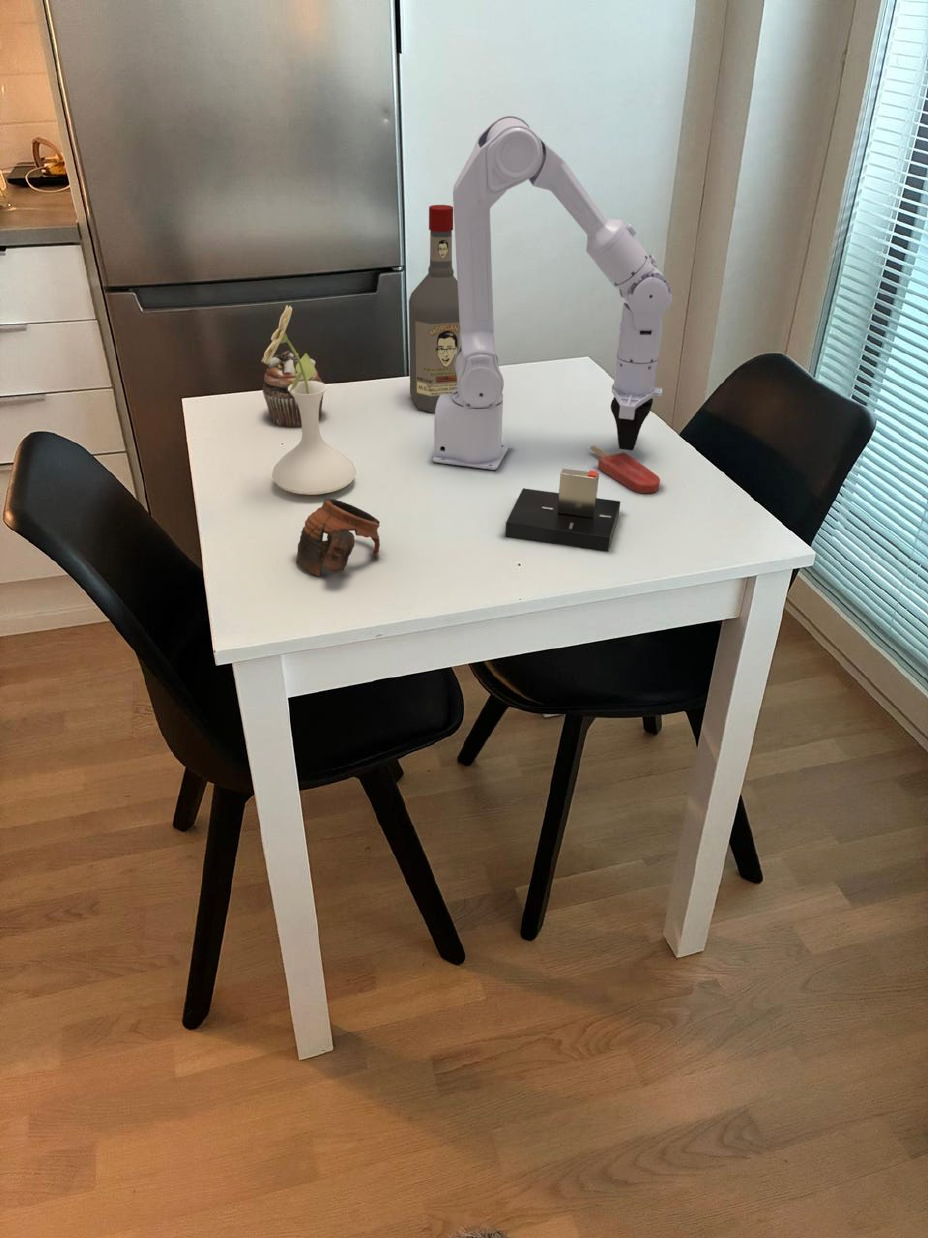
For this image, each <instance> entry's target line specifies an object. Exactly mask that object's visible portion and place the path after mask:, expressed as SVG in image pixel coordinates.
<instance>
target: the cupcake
mask: <svg viewBox="0 0 928 1238" xmlns="http://www.w3.org/2000/svg"><path fill="white" fill-rule="evenodd" d="M297 355H298V357H299V359H301V358H302V357H303V356H304V355H305V353H303V354H300V355H299V353H297ZM307 355H308V357H309V358H310V360H311V362H312V363H313V365H314V367H315V366H316V360H314V358H311V356H310V355H309V354H307ZM297 363H298V361H297V359H296V357H295V355H294V353H293V352H292V350H291V349H290V350H288V351H284V352H282V353H281V354H274V355H273V357H272V358H271V360H270V361H269V363H268V364H267V366H268V367H267V368H266V371H265V373H264V375H263V380H264V383H263V384H262V389H261V390H262V394H263V397H264V400H265V403H266V406H267V409H268V413H269V417H270V420H271V422H272V423H274V424H275V425H278V426H281V427H285V428H286V427H287V428H302V421H301V415H300V410H299V407H298V404H297V402H296V400H295V398H294V397H293V395H292V394H291V393H290V392H289V391H288V387H289V386H290V385H291V384H293V381H294V379H295V377H296V376H297V375H298V373H297V371H296V365H297ZM301 381H304V379H302V378H300V380H299V382H301ZM307 381H317V382H321V383H323V380H322V378H321V377H320V376H319V372H318V370H317V369H316V373H315V375H314V376H313V377H311V378H310V379H309V380H307ZM323 400H324V395H323V396H322V398H321V401H320V406H319V421H320V420H321V418H322V409H323Z"/></svg>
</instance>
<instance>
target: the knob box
mask: <svg viewBox="0 0 928 1238" xmlns="http://www.w3.org/2000/svg"><path fill="white" fill-rule="evenodd" d="M558 497H559V492H553V491H545V490H539V489H531V488H524V487H523V488H522V489H521V491H520V494H519V496H518V497H517V499H516V501H515V503H514V505H513V507H512V509H511V511H510V514H509V515H508V518H507V520H506V521H505V531H504V533H505V535H504V536H505V537H508V538H515V539H521V540H528V541H529V540H530V541H534V542H535V541H536V542H543V543H550V544H557V545H563V546H568V547H569V546H570V547H577V548H583V549H591V550H598V551H605V552H609V550H610V547H611V543H612V539H613V535H614V533H615V530H616V526H617V524H618V523H617V522H618V519H619V515H620V507H621V501H620V500H613V499H605V498H599V497H597V498H596V508H595V514H594V517H593V518H591V517H584V516H576V515H569V514H562V513H557V510H558Z"/></svg>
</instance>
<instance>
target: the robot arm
mask: <svg viewBox="0 0 928 1238" xmlns="http://www.w3.org/2000/svg"><path fill="white" fill-rule="evenodd" d="M527 181H529V182H530V184H531V186H532V187H535V188H539V189H543V190H547V191H550V192H551V193H552V194H553V195H554V197H555V198H556V199H557V200H558V201H559V203H560V204H561V205H562V206H563V208H564V209H565V210H566V211H567V212H568V213H569V215H570V216H571V217H572V218H573V220H574V221H575V222H576V223H577V225H579V227H580V228H581V229H582V230H583V232H584V233H585V234H586V236H587V237H586V249H585V250H586V253H587V254H588V255H589V257H590V258H591V259H592V261H593V262H594V264H596V265H597V267H598V268H599V270H600V271H601V272H602V273H603V275H605V277H606V278H607V280H608V281H609V282H610V283H611V284H612V286H613V288H615V289H618V292H619V295H620V297H621V298H623V300H624V301H625V302H623V304H622V312H621V313H622V314H621V321H620V324H619V333H618V342H617V343H618V344H617V352H616V359H615V370H614V371H615V372H614V379H613V383H612V385H611V393H612V395H613V399H612V400H611V401H610V402H611V403H610V412H611V413H612V415H613V417H614V418H613V419H614V421H615V426H616V434H617V444H618V449H619V450H626V451H634V449H635V446H636V444H637V441H638V437H639V434H640V431H641V428H642V425H643V424H644V421H645V419H647V417H648V416H649V414H650V412H651V409H652V407H653V404H654V403H653V402H654V399H653V398H661V397H662V395H663V388H662V387H658V386H657V387H656V378H657V372H658V363H659V357H660V356H659V355H660V349H661V348H660V347H661V341H662V334H663V333H662V332H663V320H664V313H665V312H666V311H667V310H668V309H669V307H670V306H671V304H672V301H673V298H674V296H673V295H672V291H671V284H670V282H669V281H668V278H666V276H664V274H663V273H662V272H661V271H660V269H658V266H657V265H656V264H657V262H658V260H657V259H656V258H655V256H654V254H648V253H647V252H646V250H645V249H644V247H642V245H641V244H640V243H639V241H638V240H637V239H636V237H635V236H636V235H637V230H636V229H635V228H634V227H633V225H632V224H631V223H627V224H625V222H623V220H622V219H617V218H607V217H606V216H605V215H604V213H603V212H602V210H601V209H600V208H599V206H598V205H597V204H596V202H595V201H594V200H593V198H592V197H591V195H590V194H589V193H588V191H587V189H586V188H585V187H584V186H583V184H582V183H581V181H580V180H579V178H578V177H577V176H576V175H575V173H574V171H573V170H572V168H571V167H570V166H569V165H568V163H567V162H566V161H565V160H564V159H563V157H561V155H560V154H558V152H557V151H555V150H554V148H552V147H551V146H550V145H549V144H548V143H547V142H546V141H545V140H544V139H543V138H542V137H540V135H538V134H537V133H536V132H535V131H534V130H533V129H532V128H531V127H530V125H529V124H528V123H527V122H526V121H525V120H524V119H523V118H521V117H519V116H516V115H504V116H501V117H499V118H497V119H496V120H494V121H493V122H492V123H491V124H490V125H489V126H487V128H486V129H484V130H483V131H482V132H481V133H480V134H479V135H478V136H477V139H476V141H475V144H474V146H473V149H472V150H471V152H470V154H469V157H468V158H467V160H466V162H465V163H464V166H463V168H462V170H461V171H460V173H459V175H458V176H457V179H456V181H455V183H454V185H453V190H452V198H453V199H452V201H453V204H452V205H453V225H454V241H455V242H454V243H455V260H456V280H457V283H458V302H459V322H460V332H459V339H460V344H459V349H458V352H457V354H456V356H455V359H454V368H455V372H456V375H457V387H456V388H455V390H454V391H453V392H452V394H442V395H440V397H439V399H438V401H437V404H436V409H435V413H434V420H433V421H434V423H433V425H434V426H433V429H434V431H433V433H434V434H433V436H434V437H433V439H434V440H433V441H434V443H433V446H434V447H433V448H434V450H433V451H434V453H433V454H434V455H433V458H432V462H433V463H438V464H445V465H451V466H452V465H453V466H462V467H468V468H476V469H485V470H490V471H491V470H492V471H496V470H497V469H498V468H499V466H500V465H501V463H502V461H503V459H504V458H505V455H506V454H507V453H508V450H509V446H508V445H506V444H502V435H503V412H504V411H503V408H504V394H503V391H504V387H505V386H504V385H505V383H504V376H503V374H502V372H501V370H500V366H499V359H498V355H497V353H496V342H495V333H494V328H495V327H494V301H493V300H494V299H493V268H492V267H493V266H492V265H493V263H492V236H491V234H492V233H491V232H492V231H491V208H492V207H493V206H494V205H495V203H497V202H498V201H499V200H500V198H501V197H503V196H504V194H506V192H508V191H509V190H511V189H512V188H514V187H516V186H519V185H521V184H523V183H525V182H527Z"/></svg>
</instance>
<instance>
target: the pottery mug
mask: <svg viewBox="0 0 928 1238" xmlns="http://www.w3.org/2000/svg"><path fill="white" fill-rule="evenodd" d="M380 523H381V522H380V521H379V519H377V518H376V517H375V516H373V515H371V514H370V513H368V512H366V511H365V510H362V509H361V508H358V507H357V506H355V505H352V504H349V503H347V502H343V501H342V500H338V499H335V498H325V499H323V502H322V505H321V507H318V508H317V509H316V510H315V511H313V512H312V513H311V514H309V515H308V516H307V518H306V519H305V521H304V526H303V527H302V530H301V531H300V533H301V534H300V536H299V541H298V542H297V551H296V557H295V561H296V562H297V564H298V565H299V566H300V567H301V568H303V569H304V570H305V571H307V572H309V573H311V574H313V575H315V576H317V577H320V576H321V574H322V568H323V567H324V568H325V569H326V570H327V571H328V572H330V573H339V572H340V573H341V572H343V571H345V570H346V567H347V565H348V561H349V556H350V555H351V554H352V552H353V549H354V547H355V536H357V537H364V538H371V540H372V542H373V543H374V548H373V552H372V555H373V556H374V557H376V558H377V557H378V556H379V552H380V547H381V543H380V536H379V533H378V532H379V531H378V529H379V528H380ZM353 531H354V534H353ZM324 534H325V535H326V540H323V539H324Z"/></svg>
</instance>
